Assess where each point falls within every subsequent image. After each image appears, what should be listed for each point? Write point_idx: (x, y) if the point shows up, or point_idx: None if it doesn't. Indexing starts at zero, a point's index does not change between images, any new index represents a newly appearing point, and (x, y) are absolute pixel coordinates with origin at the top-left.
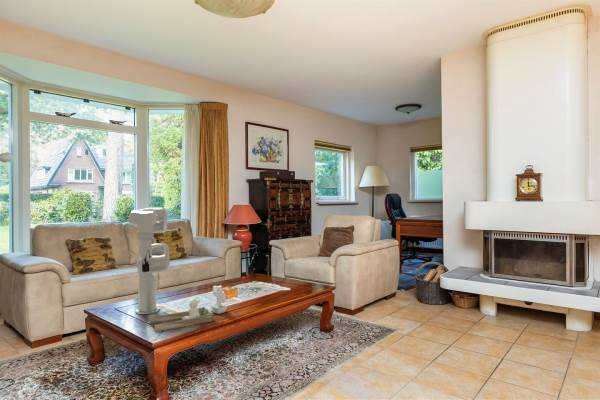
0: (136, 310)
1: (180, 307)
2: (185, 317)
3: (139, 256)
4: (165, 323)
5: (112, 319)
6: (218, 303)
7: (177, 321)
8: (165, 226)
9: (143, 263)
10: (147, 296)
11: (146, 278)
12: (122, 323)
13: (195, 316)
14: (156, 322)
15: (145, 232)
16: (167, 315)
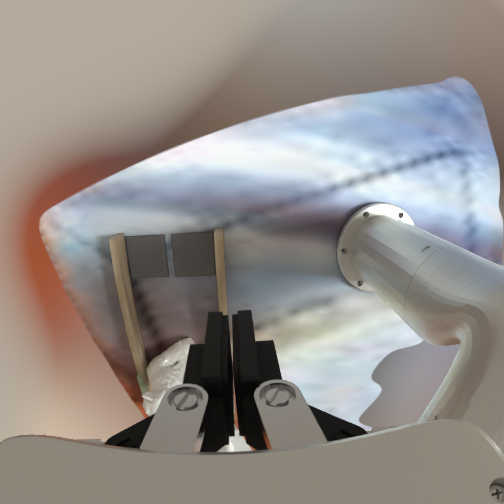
0: (387, 207)
1: (345, 354)
2: (176, 351)
3: (294, 473)
4: (118, 278)
5: (349, 109)
6: (219, 450)
7: (124, 318)
8: None
9: (192, 398)
10: (379, 266)
11: (434, 303)
12: (277, 133)
13: (148, 376)
14: (209, 254)
15: None
16: (218, 304)
